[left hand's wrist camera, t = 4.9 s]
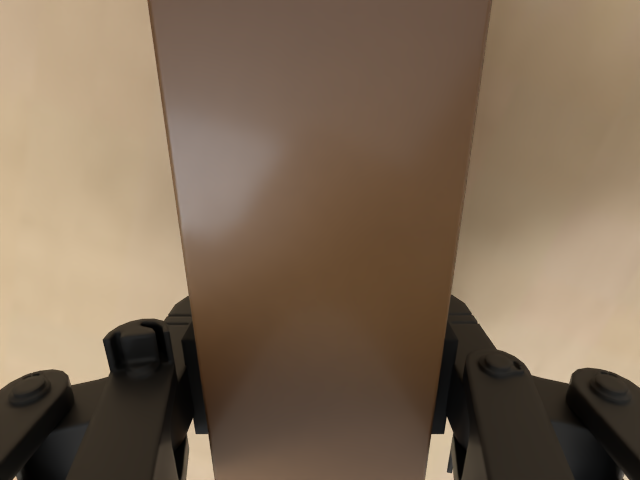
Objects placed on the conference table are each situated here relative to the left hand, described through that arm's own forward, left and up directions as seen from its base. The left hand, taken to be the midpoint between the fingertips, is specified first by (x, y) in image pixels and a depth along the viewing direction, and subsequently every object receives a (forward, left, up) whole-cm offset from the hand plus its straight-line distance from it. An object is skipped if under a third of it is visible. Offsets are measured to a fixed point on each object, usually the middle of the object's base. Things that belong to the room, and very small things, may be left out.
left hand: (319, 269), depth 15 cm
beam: (+17, -12, -1) cm, 21 cm away
